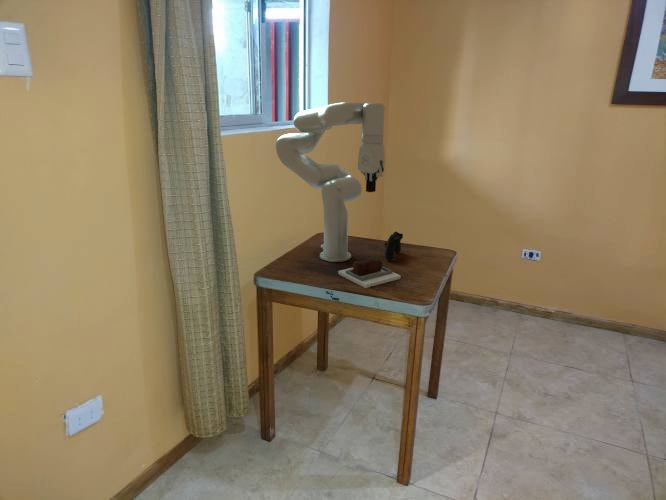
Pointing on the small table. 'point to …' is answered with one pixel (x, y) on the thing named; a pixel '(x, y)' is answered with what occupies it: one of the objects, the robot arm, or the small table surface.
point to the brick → (367, 266)
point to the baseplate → (370, 277)
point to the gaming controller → (393, 245)
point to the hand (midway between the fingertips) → (370, 191)
